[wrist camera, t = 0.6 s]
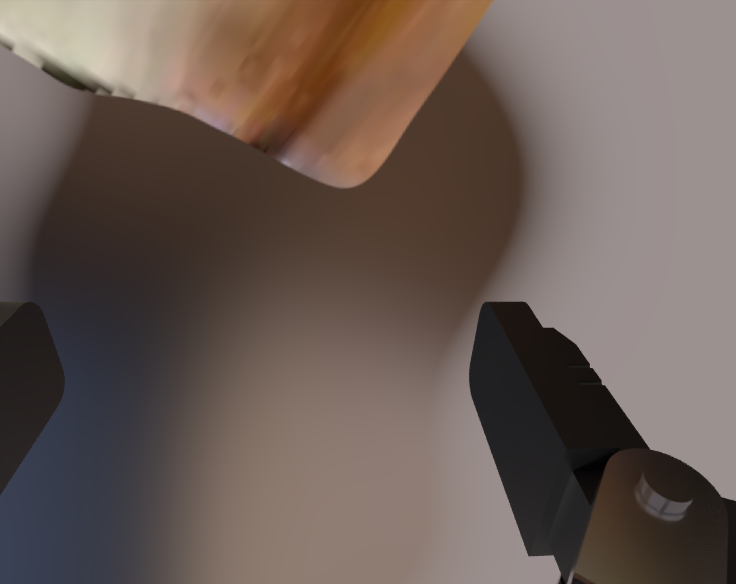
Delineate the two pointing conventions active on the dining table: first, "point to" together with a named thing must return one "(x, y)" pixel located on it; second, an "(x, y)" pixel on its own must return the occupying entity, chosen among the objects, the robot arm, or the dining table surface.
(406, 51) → the dining table surface
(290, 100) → the dining table surface
